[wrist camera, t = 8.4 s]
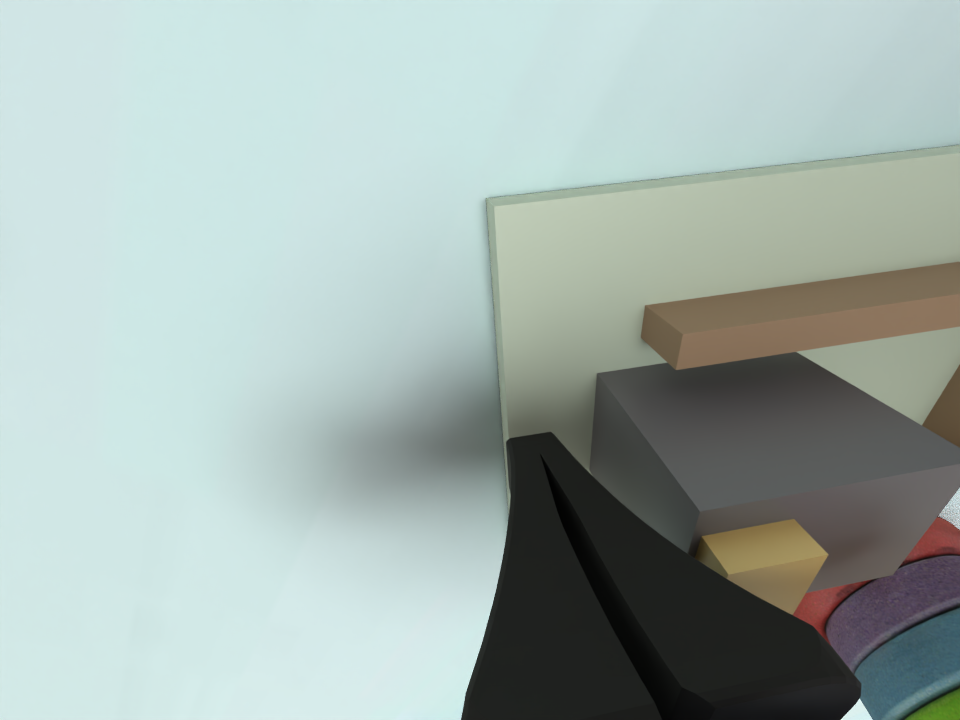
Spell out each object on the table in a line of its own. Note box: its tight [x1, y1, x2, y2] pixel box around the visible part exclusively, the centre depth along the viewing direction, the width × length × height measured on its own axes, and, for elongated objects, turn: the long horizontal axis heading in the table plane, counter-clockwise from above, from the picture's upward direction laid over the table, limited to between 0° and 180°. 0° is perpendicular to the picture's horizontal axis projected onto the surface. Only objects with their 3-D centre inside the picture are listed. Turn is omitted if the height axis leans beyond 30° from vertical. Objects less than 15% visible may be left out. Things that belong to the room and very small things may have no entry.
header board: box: [486, 145, 960, 514], centre depth 12 cm, size 18×14×6 cm
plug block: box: [589, 352, 960, 615], centre depth 11 cm, size 6×4×6 cm, turn 95°
